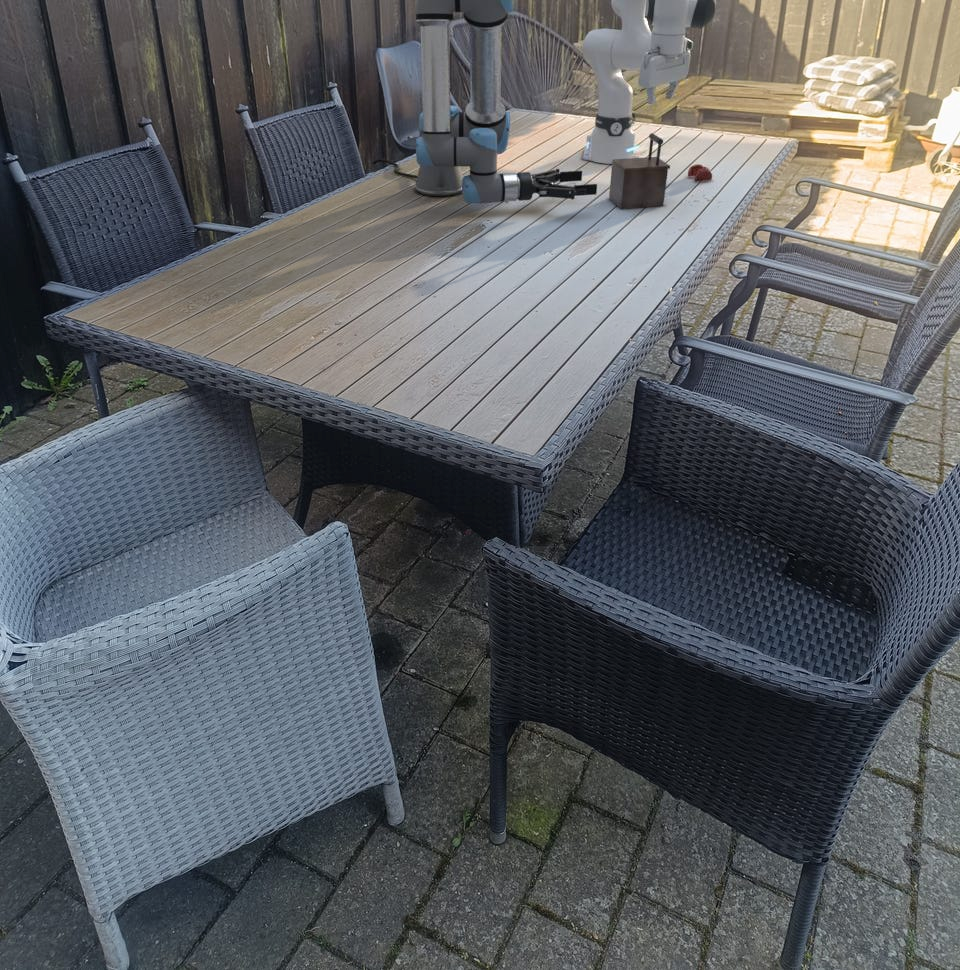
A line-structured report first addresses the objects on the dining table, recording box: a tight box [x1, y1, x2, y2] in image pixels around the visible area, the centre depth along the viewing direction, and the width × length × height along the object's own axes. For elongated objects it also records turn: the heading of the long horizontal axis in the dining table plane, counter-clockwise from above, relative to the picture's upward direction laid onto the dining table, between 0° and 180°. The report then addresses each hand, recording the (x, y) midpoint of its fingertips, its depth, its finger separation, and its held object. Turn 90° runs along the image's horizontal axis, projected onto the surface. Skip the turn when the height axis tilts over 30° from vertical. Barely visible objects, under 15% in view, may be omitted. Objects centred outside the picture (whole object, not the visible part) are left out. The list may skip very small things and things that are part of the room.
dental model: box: [687, 163, 713, 182], centre depth 266 cm, size 6×4×8 cm
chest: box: [608, 162, 669, 210], centre depth 245 cm, size 13×10×10 cm
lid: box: [612, 132, 671, 172], centre depth 240 cm, size 14×10×8 cm
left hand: (588, 182), depth 241 cm, fingers open, 13 cm apart
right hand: (660, 100), depth 233 cm, fingers open, 8 cm apart
